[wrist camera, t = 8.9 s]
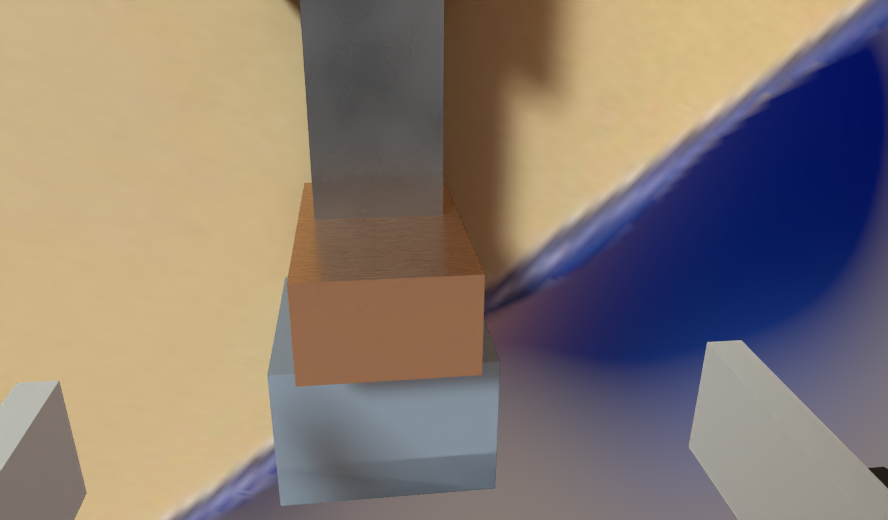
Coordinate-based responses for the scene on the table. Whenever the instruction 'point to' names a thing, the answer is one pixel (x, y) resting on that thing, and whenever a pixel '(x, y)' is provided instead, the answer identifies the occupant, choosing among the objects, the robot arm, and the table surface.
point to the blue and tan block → (379, 205)
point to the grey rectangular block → (381, 431)
